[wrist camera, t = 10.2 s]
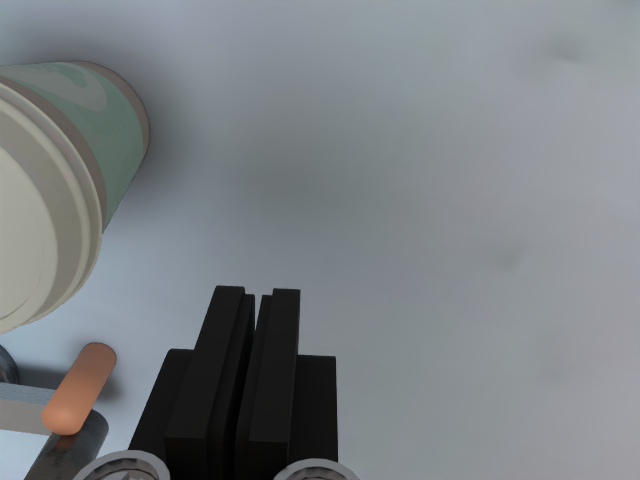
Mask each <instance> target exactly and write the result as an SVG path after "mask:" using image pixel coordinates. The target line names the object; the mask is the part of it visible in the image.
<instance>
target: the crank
mask: <svg viewBox="0 0 640 480" xmlns="http://www.w3.org/2000/svg"><path fill="white" fill-rule="evenodd" d="M55 391H56V390H53V389H45V388H38V387H31V386H23V385H16V384H9V383H1V382H0V429H3V430H10V431H18V432H26V433H33V434H41V435H49V436H50V437H49V438H48V440H47V442H46V443H45V445H44V447H43V448H42V450H41V452H40V453H39V455H38V457H37V458H36V460H35V462H34V463H33V465H32V467H31V468H30V470H29V472H28V473H27V475H26V477H25V479H24V480H72V479H73V478H74V477H75V476H76V475H77V474H78V473H79V472H80V471H81V469H82V468H84V467H85V466H87V465H88V464H90V463H91V462H92V461H94V460H95V459H96V457H97V455H98V453H99V451H100V449H101V447H102V444H103V442H104V440H105V438H106V436H107V434H108V431H109V426H108V423H107V421H106V419H105V418H104V417H103V416H102V415H101V414H100V413H98V412H97V411H95V410H93V407H92V408H91V410H90V412H89V414H88V416H87V418H86V420H85V421H84V423H83V425H82V427H81V429H80V430H79V431H78V432H76V433H75V434H71V435H60V434H57V433H54V432H52V431H50V430H49V429H48V428H47V427H46V426H45V425H44V424H43V422H42V419H41V414H42V412H43V410H44V408H45V407H46V405H47V404H48V402H49V401H50V399H51V398H52V396H53V395H54V393H55Z"/></svg>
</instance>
